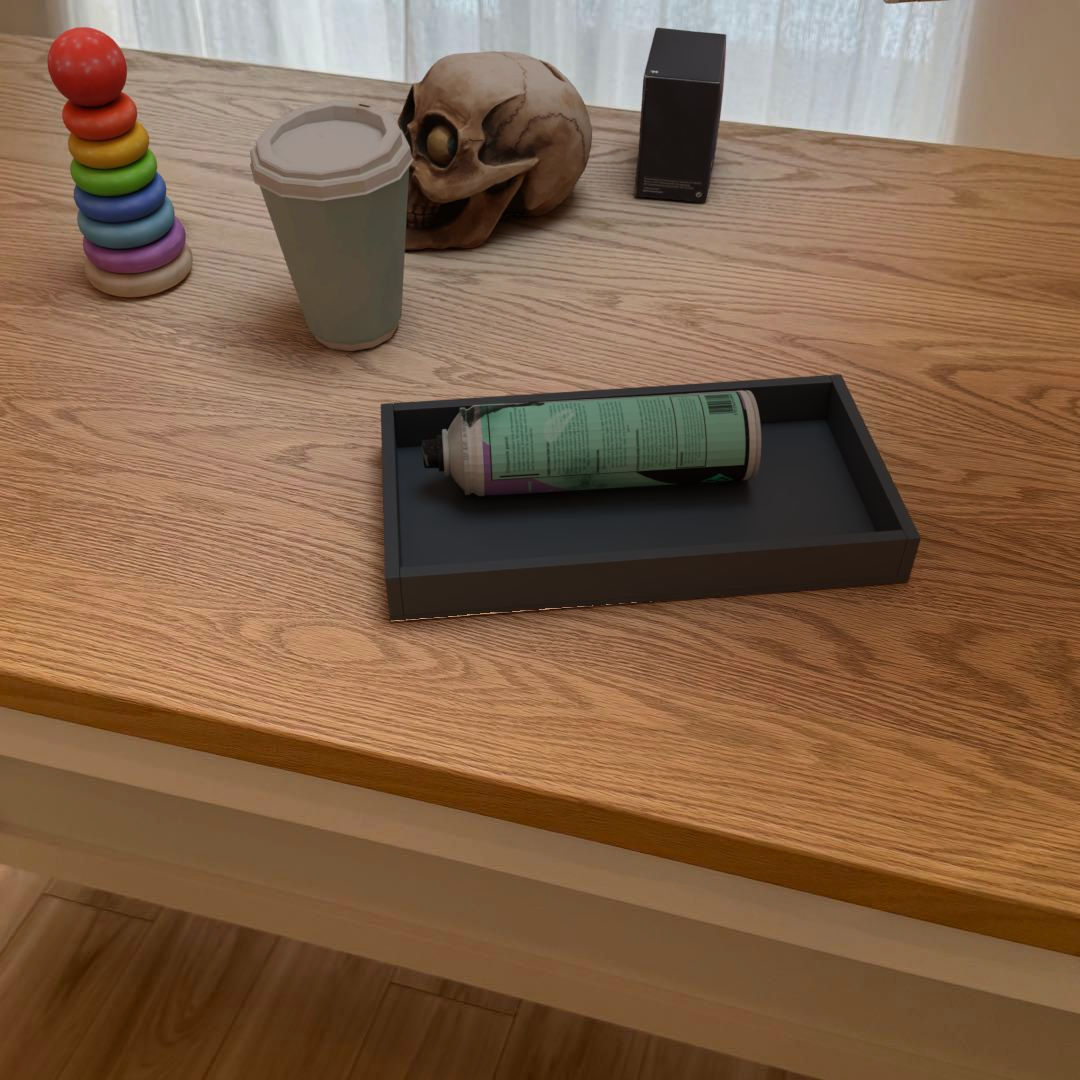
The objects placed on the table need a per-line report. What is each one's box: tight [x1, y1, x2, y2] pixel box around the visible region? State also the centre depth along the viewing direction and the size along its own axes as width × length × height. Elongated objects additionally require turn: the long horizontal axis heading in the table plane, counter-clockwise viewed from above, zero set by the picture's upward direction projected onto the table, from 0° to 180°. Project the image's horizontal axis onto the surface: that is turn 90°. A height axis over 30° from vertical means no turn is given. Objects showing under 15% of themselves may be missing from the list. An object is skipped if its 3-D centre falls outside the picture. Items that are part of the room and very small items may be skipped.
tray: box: [380, 373, 922, 622], centre depth 74 cm, size 30×16×4 cm, turn 96°
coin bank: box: [396, 50, 593, 251], centre depth 99 cm, size 16×17×13 cm
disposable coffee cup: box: [249, 99, 413, 352], centre depth 85 cm, size 11×11×15 cm
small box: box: [633, 27, 727, 203], centre depth 104 cm, size 11×6×10 cm, turn 171°
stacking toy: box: [46, 26, 194, 298], centre depth 89 cm, size 8×8×19 cm
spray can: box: [422, 390, 761, 496], centre depth 75 cm, size 6×6×20 cm
